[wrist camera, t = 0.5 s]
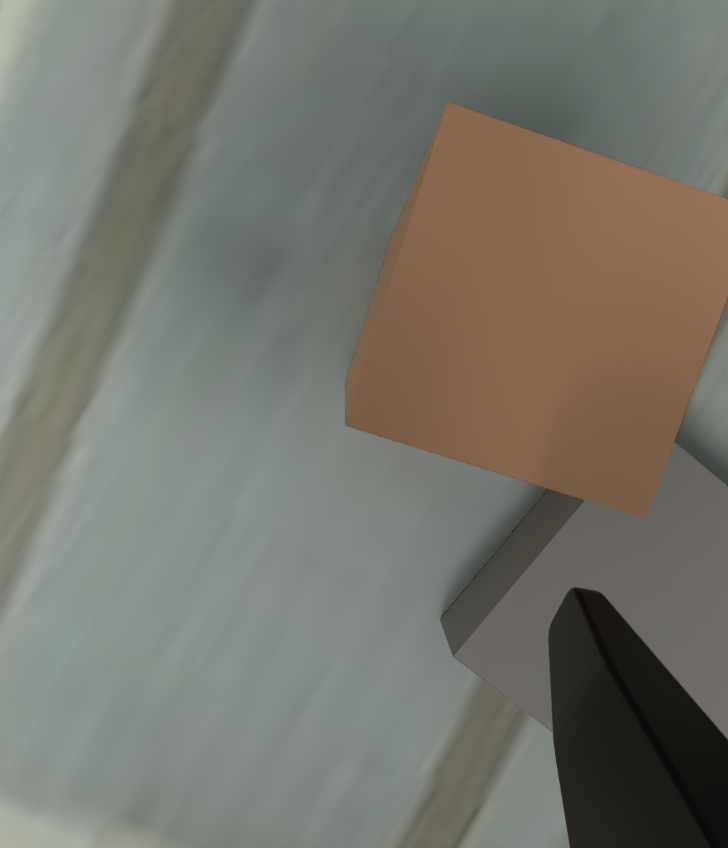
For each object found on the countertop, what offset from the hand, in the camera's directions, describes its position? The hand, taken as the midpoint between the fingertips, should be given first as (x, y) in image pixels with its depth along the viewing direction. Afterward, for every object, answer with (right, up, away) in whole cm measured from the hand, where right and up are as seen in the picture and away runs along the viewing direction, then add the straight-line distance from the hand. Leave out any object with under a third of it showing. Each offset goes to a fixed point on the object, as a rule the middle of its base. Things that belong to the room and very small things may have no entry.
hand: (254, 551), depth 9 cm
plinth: (+11, -5, +16) cm, 20 cm away
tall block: (+4, +5, +14) cm, 16 cm away
